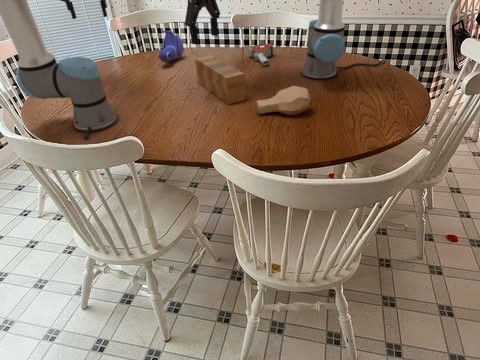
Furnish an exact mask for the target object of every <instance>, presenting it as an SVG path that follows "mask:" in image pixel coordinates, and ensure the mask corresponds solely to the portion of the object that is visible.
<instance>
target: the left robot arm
mask: <svg viewBox="0 0 480 360" xmlns="http://www.w3.org/2000/svg"><path fill="white" fill-rule="evenodd" d="M59 1H60V2H64V3H65V6H66V8H67V11H68V12H69V11H70V15H71V19H72V20H76V19H77V15H76V11H75V8H74V7H75V6H74V4H73V1H71V0H59ZM107 3H108V2H107V0H99V4H100V7H101V11H102V15H103V18H106V17H108V13H107V9H108V4H107ZM0 18H1V20H2V22H3V24H4V26H5V28H6V30H7V33H8V35H9V37H10V39H11V41H12V43H13V46H14V48H15V51H16V52H17V55H18V57H19V59H18V60H17V61H18V62H17V66H18V67H17V68H16V71H15V77H16V78H15V79H16V82H17V85H18V87H19V88H20V90H21V91H22V92H23V93H24V94H25V95H26V96H28V97H30V98H33V99H40V100H41V99H42V100H47V99H67V98H69V99H70V101H71V104H72V108H73V114H72V117H73V118H72V119H73V125H74V128H75V129H76V131H78V132H84V133H85V135H84V136H83V137H84V140H88V138H89V135H90V133H92V132H99V131H102V130H105V129H107V128H110V127H111V126H113V125H115V124H116V122H117V121H118V116H117V113H116V111H115V110H114V108H113V107H112V105H111V103H110V102H109V101H108V99H107V96H106V92H105V89H104V87H103V86H104V85H103V83H102V79H101V73H100V71H99V69H98V66H97V64H96V62H95V61H94V60H93V59H91V58H88V57H84V56H72V57H71V56H70V57H69V56H68V57H65V58H62V59H60V60H59V61H58V62H57V60H56V57H55V55H54V54H52V53H50V52H49V51H48V50H47V47H46V45H45V42H44V40H43V38H42V35H41V32H40V30H39V28H38V24H37V23H36V20H35V17H34V15H33V13H32V10H31V8H30V6H29V3H28V0H0Z"/></svg>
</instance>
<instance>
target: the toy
mask: <svg viewBox="0 0 480 360" xmlns="http://www.w3.org/2000/svg"><path fill="white" fill-rule="evenodd" d="M162 33H165V35H164V38H163V41H162V49H160V48H159V49H158V50H159V52H158V54H157V57H158V59H159V60H160V61H161V62H163V63H164V64H165V66H166V67H168V64H169V62H172V61H176V60H178V59H179V58H180V57H181V56H182V55H183V54H184V49H185V48H184V42H183V40H182V38H181V36H180V35H178V34H176V35H175V33H174V32H173V30H162Z"/></svg>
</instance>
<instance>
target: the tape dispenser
mask: <svg viewBox="0 0 480 360" xmlns="http://www.w3.org/2000/svg"><path fill="white" fill-rule="evenodd" d="M260 47H261V48H260ZM273 54H274V46H273V45H272V43H265V44H264V43H263V44H257V45H256V44H255V45H251V46H250V45H249V46H247V55H248V56H249V57H251V58H254V61H255V62H258V61H259V62H260V63H261V66H262V67H264V66H265V67H266V66H268V65H269V64H270V59H268V58H269V57H272V56H273Z"/></svg>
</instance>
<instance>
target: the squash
mask: <svg viewBox="0 0 480 360" xmlns="http://www.w3.org/2000/svg"><path fill="white" fill-rule="evenodd" d="M311 98H312V97H311V95H310V90H309V89H307V88H306V87H302V86H298V85H292V86H289V87H287V88H283V89H280V90H279V91H277V92H276V94H275V95H274V96H272V97H271V98H265V99H257V100H256V102H255V103H256V107H257V109H256V110H257V113H258V114H259V115H263V114H266V113H273V112H275V113H282V114H284V115H287V116H295V115H300V114H301V113H303V112H305V111H306V110H308V109H309V107H310V102H311Z"/></svg>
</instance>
